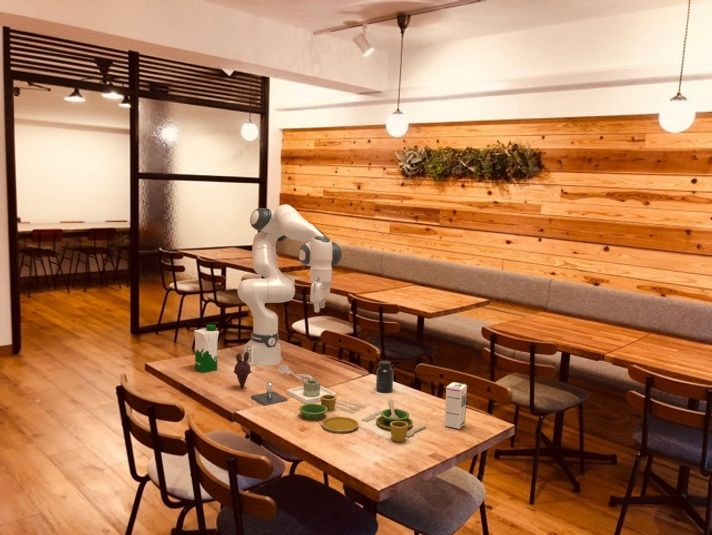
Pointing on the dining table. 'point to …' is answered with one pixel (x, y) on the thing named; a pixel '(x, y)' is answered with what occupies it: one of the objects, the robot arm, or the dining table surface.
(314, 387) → the napkin ring
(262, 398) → the stand
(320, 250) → the robot arm
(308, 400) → the tray
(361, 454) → the dining table surface
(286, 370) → the stirrer
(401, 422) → the tableware set
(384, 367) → the supplement bottle
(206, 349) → the milk carton
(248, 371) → the icecream
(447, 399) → the syrup box
